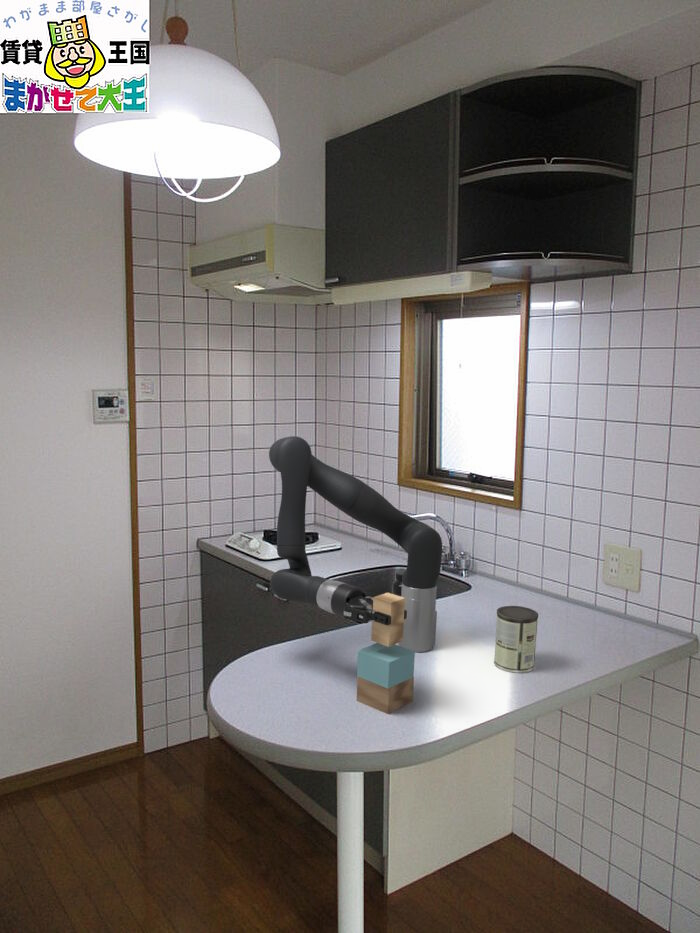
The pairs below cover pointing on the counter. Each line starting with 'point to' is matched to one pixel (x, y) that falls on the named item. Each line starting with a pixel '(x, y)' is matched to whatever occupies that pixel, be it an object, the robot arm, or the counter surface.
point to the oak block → (395, 609)
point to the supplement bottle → (397, 584)
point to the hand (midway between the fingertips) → (397, 617)
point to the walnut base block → (384, 695)
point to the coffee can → (515, 639)
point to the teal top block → (385, 664)
